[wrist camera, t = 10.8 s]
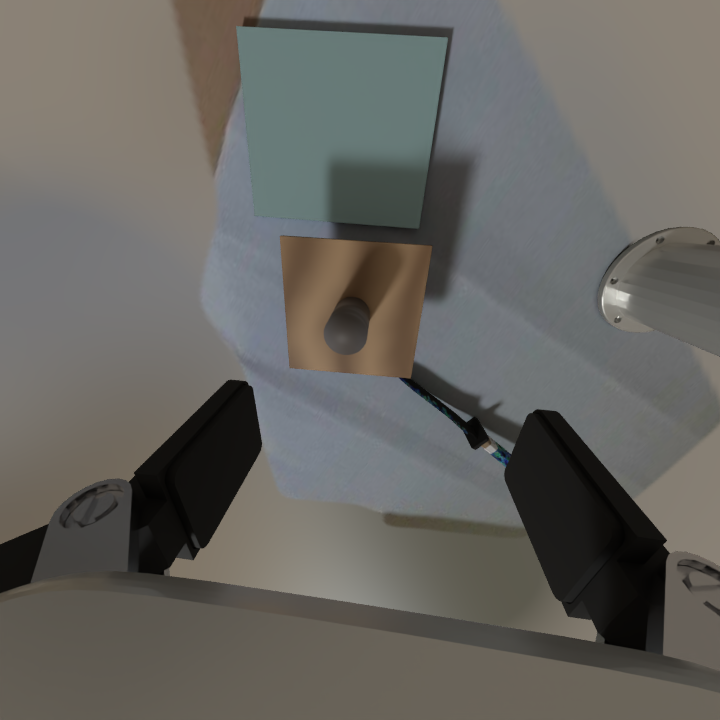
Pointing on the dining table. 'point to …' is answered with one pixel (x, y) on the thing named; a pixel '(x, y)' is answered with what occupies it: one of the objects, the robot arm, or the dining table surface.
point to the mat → (340, 123)
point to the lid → (353, 304)
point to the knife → (464, 425)
